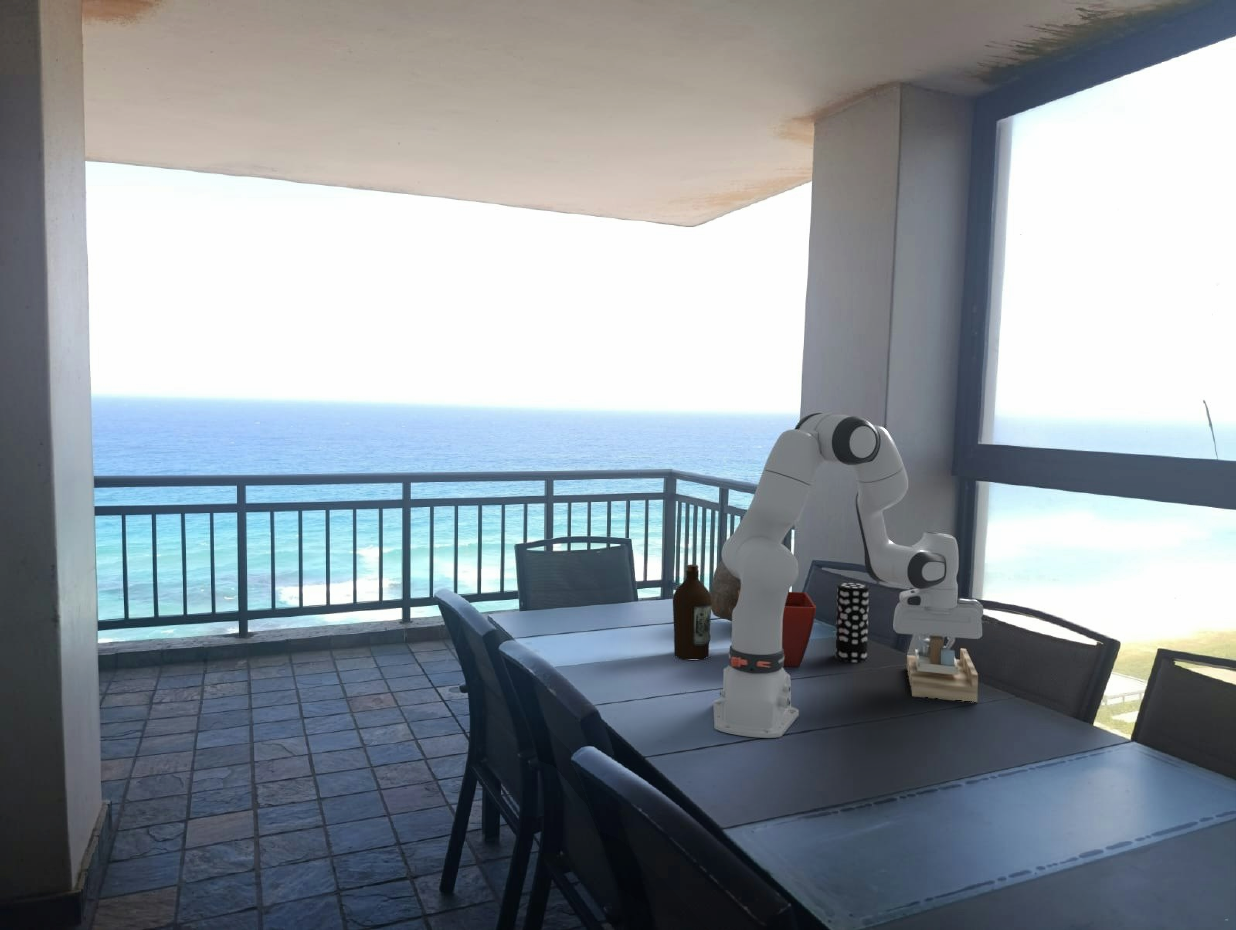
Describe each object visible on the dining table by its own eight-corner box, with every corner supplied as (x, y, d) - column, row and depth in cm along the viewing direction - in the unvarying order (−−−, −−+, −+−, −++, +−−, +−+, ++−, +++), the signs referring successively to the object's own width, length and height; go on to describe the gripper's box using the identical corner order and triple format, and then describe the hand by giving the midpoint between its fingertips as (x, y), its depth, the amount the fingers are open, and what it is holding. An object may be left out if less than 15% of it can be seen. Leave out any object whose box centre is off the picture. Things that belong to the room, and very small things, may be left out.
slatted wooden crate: (977, 702, 179) (978, 675, 179) (912, 696, 184) (913, 668, 183) (964, 673, 200) (965, 648, 200) (906, 668, 205) (907, 643, 204)
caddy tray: (958, 675, 184) (959, 645, 184) (917, 670, 187) (918, 642, 187) (953, 659, 197) (954, 632, 196) (915, 655, 200) (915, 628, 199)
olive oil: (664, 655, 215) (665, 565, 213) (689, 647, 222) (690, 560, 221) (693, 663, 207) (694, 570, 206) (718, 655, 214) (720, 565, 213)
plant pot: (805, 650, 220) (806, 591, 219) (815, 671, 201) (816, 607, 200) (736, 648, 222) (737, 589, 221) (740, 668, 203) (741, 605, 202)
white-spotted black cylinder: (863, 653, 217) (865, 582, 216) (870, 662, 209) (872, 589, 208) (833, 652, 218) (834, 581, 217) (838, 661, 210) (840, 588, 209)
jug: (697, 621, 251) (698, 529, 250) (757, 617, 258) (758, 526, 256) (730, 641, 228) (732, 540, 226) (795, 636, 234) (797, 537, 233)
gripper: (980, 597, 192) (979, 652, 192) (893, 592, 197) (891, 646, 197) (986, 603, 186) (984, 660, 186) (895, 597, 190) (894, 653, 191)
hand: (936, 653), depth 192 cm, fingers closed on caddy tray, 3 cm apart
